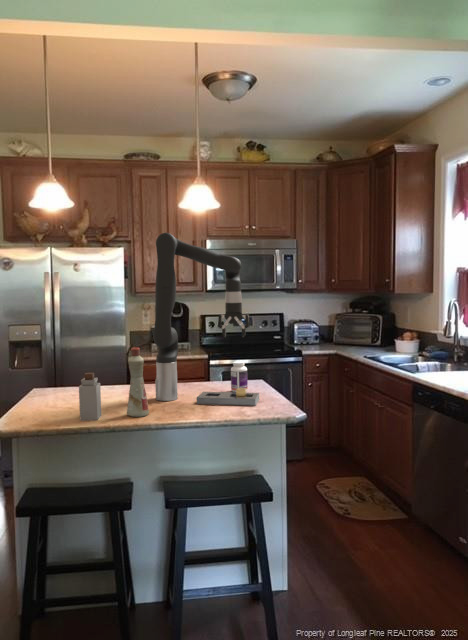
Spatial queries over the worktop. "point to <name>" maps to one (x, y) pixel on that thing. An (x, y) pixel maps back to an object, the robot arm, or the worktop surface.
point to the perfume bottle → (89, 398)
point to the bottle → (137, 386)
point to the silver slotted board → (227, 398)
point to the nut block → (241, 392)
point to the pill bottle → (238, 376)
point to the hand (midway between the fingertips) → (233, 336)
